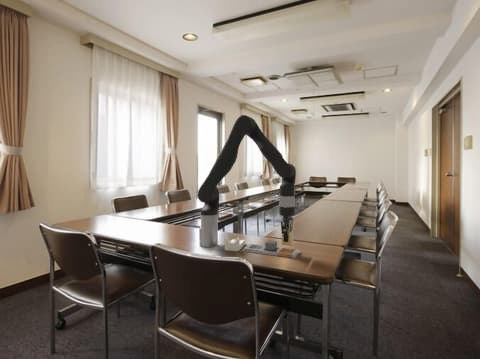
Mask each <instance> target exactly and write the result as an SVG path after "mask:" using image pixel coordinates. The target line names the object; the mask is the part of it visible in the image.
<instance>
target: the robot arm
mask: <svg viewBox="0 0 480 359" xmlns="http://www.w3.org/2000/svg"><path fill="white" fill-rule="evenodd" d="M245 136H247V137H248V138H250V139H251V140H252V141H253V142H254V143H255V145H256V146H257V148H258V149H259V152H260V153H261V155H263V157H264V158H265V159H266V160H267V161H268V162H269V164H270V165H271V166H272V168H273V169H274V171H275V172H276V174H277V175H278V176H279V177H280V178H281V183H280V184H279V199H278V205H279V208H278V214H279V216H282V219H281V221H280V228H281V229H280V230H281V235H282V234H283V241H284V242H288V232H289V230H293V223H294V216H295V215H296V199H295V198H296V197H295V186H296V185H295V184H296V178H297V170H296V167H295V166H294V165H293V164H291V163H288V161H286V160H285V159H284V157H283V156H284V155H283V154H282V153H281V152H280V150H278V149H277V147H276V146H275V145H274V144H273V142H271V141H270V140H269V139H268V138H267V136H266V135H265V134H264V132H263V131H262V129H261V128H260V126H259V125H258V123H257V122H256V120H255V119H254V118H253V117H251V116H249V115H246V114H241V115H239V116H238V117H237V118H236V119H235V121H234V123H233V125H232V128H231V131H230V133H229V135H228V137H227V139H226V142H225V143H224V144H223V147H222V149H221V151H220V152H219V154H218V156H217V158H216V159H215V162H214V164H213V166H212V167H211V170H209V173H208V175H207V177H206V178H205V180H204V181H203V182H202V184H201V185H200V187H199V188H198V190H197V198H198V200H199V201H200V202H201V203H204V205H203V207H202V208H201V209H200V228H199V232H198V233H199V246H201V247H203V248H214V247H217V246H218V245H219V238H218V236H219V233H218V230H219V227H218V226H219V224H218V223H219V221H218V220H219V219H218V218H219V217H218V215H219V214H218V212H219V209H220V191H219V188H218V187H217V186H218V185H219V183H220V182H221V181H222V180H223V179H224V178H225V177H226V176H227V175H228V174H229V173H230V171H231V170H232V168H233V166H234V165H235V163H236V162H237V158H238V156H239V148H240V145H241V142H242V141H243V139H244V138H245ZM285 230H286V231H285Z"/></svg>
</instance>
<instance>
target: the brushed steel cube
mask: <svg viewBox="0 0 480 359" xmlns="http://www.w3.org/2000/svg"><path fill="white" fill-rule="evenodd" d="M264 245H265V250H267V251H275V252H276V251H277V247H278V241H277V240H276V241H275V240H266V242H265V244H264Z"/></svg>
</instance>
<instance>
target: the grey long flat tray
mask: <svg viewBox="0 0 480 359" xmlns="http://www.w3.org/2000/svg"><path fill="white" fill-rule="evenodd" d="M243 252H245V253H246V252H247V253H253V254H260V255H267V256H268V255H269V256H275V257H283V258H291V259H296V258H297V257H298V255H299V254H300V249H297V248H293V247H292V248H290V247H281V246H277V251H276V252H275V251H267V250H265V244H264V245H262V244H254V243H249V244H247V245H246V246H245V247H243Z"/></svg>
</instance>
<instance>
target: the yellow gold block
mask: <svg viewBox="0 0 480 359" xmlns="http://www.w3.org/2000/svg"><path fill="white" fill-rule="evenodd" d="M285 231H286V230H285ZM293 244H294V230H293V229H292V230H289V232H288V242H284V241H283V234H282V233H281V245H282V246H289V247H290V246H292V245H293Z"/></svg>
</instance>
